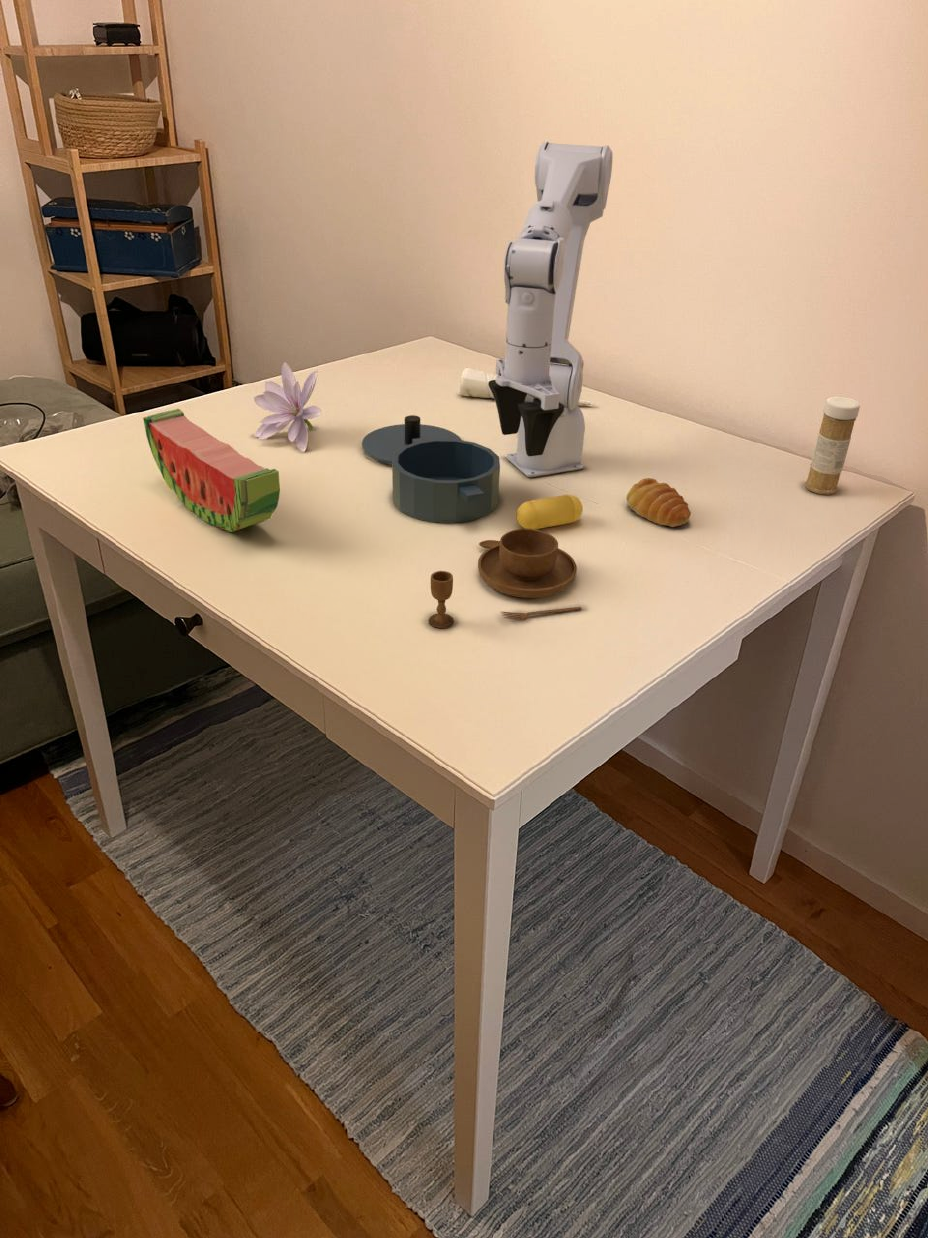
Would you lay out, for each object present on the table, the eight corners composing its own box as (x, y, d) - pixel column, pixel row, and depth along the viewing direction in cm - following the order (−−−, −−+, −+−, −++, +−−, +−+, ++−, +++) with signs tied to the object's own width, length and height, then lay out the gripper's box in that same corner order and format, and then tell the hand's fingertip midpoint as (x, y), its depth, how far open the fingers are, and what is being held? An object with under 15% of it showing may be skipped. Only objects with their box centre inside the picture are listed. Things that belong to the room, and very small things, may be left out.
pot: (464, 464, 140) (465, 426, 137) (524, 521, 125) (526, 481, 122) (372, 478, 135) (371, 439, 132) (422, 539, 120) (423, 498, 117)
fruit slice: (151, 484, 132) (139, 416, 126) (191, 473, 135) (182, 406, 130) (246, 556, 115) (237, 482, 110) (289, 540, 119) (283, 468, 113)
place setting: (601, 609, 107) (606, 565, 104) (433, 633, 102) (433, 587, 99) (547, 538, 121) (551, 497, 118) (397, 556, 116) (397, 514, 113)
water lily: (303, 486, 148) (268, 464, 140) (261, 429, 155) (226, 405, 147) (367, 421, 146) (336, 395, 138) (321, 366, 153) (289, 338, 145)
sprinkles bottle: (823, 480, 139) (846, 393, 132) (843, 493, 136) (868, 404, 128) (797, 484, 138) (819, 396, 130) (817, 497, 134) (841, 408, 127)
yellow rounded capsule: (572, 513, 128) (575, 488, 126) (586, 525, 125) (589, 499, 123) (510, 524, 125) (512, 498, 122) (523, 537, 122) (525, 510, 120)
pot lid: (439, 425, 153) (440, 395, 151) (478, 461, 141) (480, 429, 139) (349, 437, 148) (347, 406, 145) (381, 476, 136) (381, 443, 133)
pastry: (701, 523, 126) (706, 497, 124) (664, 534, 123) (668, 508, 121) (655, 496, 133) (659, 471, 131) (619, 506, 130) (622, 481, 128)
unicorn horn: (591, 414, 159) (594, 387, 156) (457, 398, 164) (457, 372, 161) (595, 405, 163) (598, 378, 160) (464, 390, 168) (465, 363, 165)
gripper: (476, 327, 120) (472, 427, 128) (525, 361, 109) (518, 468, 116) (525, 323, 123) (519, 421, 130) (578, 356, 111) (568, 461, 119)
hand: (521, 443), depth 123 cm, fingers open, 7 cm apart
